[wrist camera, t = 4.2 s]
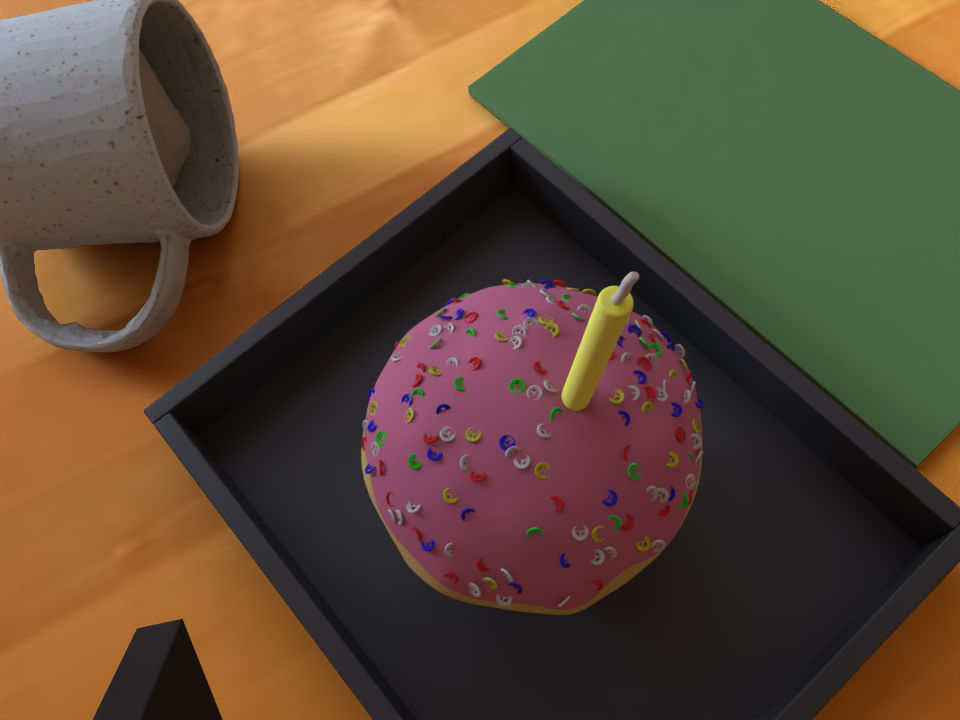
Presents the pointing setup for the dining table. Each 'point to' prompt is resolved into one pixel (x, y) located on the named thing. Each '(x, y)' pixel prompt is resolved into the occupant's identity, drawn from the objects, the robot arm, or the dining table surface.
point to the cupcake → (533, 445)
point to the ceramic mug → (110, 150)
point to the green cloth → (771, 181)
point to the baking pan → (647, 596)
